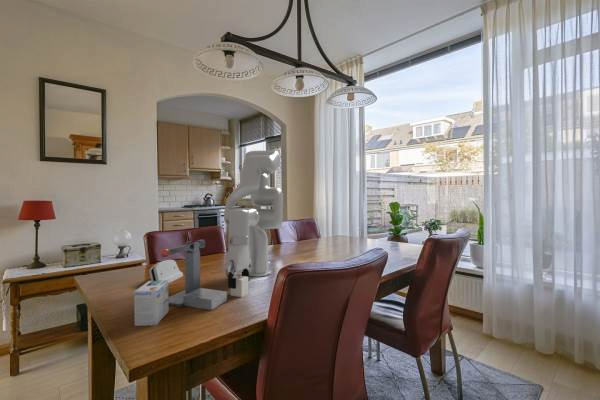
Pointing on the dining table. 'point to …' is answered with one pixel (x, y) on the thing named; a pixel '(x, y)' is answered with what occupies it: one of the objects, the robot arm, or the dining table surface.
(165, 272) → the white slotted curved casing
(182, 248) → the lever
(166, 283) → the light bulb box
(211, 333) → the dining table surface
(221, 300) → the frame
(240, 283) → the block
